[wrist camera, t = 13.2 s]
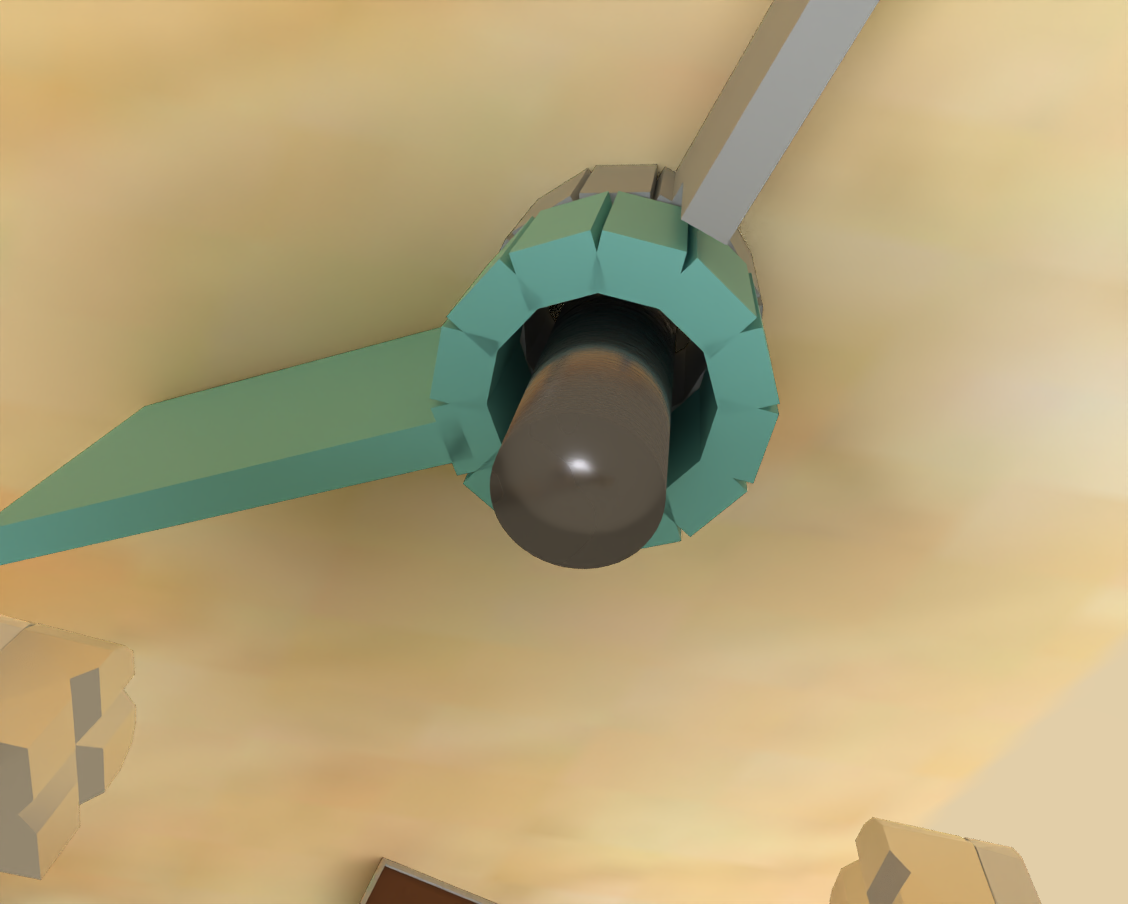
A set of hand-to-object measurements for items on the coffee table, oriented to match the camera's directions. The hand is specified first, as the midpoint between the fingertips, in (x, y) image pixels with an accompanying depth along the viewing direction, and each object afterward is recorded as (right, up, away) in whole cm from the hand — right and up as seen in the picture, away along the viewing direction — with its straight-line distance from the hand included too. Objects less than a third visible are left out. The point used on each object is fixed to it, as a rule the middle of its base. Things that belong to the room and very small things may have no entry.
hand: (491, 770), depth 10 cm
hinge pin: (+3, +8, +16) cm, 18 cm away
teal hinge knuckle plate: (-3, +7, +17) cm, 19 cm away
